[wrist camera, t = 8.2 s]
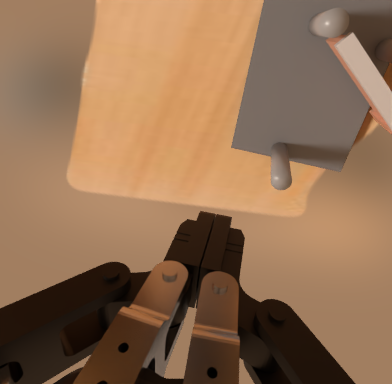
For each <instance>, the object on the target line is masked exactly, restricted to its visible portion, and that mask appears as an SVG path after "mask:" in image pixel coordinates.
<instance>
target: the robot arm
mask: <svg viewBox="0 0 392 384" xmlns="http://www.w3.org/2000/svg"><path fill="white" fill-rule="evenodd" d="M215 216H216V218H215ZM231 219H232V217H228V216H224V215H218V214H217V215H216V214H213V213H208V212H203V211H200V213H199V216H198V218H197V221H194V220H189V219H187V220H186V221H185V222H183V223H182V224H181V225H180V227H179V229H178V231H177V234H176V235H175V237H174V240H173V241H172V244H171V246H170V248H169V250H168V252H167V255H166V257H165V259H164V261H163V262H161V263H159V264H157V265H156V266H155V267H154V268H153V270H152V271H149V272H139V273H130V270H129V268H128V267H127V266H126V265H125V264H123V263H120V262H109V263H105V264H103V265H100V266H98V267H96V268H93V269H91V270H89V271H86V272H84V273H82V274H79V275H77V276H75V277H73V278H70V279H68V280H65V281H63V282H61V283H58V284H56V285H54V286H51V287H49V288H47V289H45V290H42V291H40V292H37V293H35V294H33V295H30V296H28V297H26V298H23V299H21V300H19V301H16V302H14V303H12V304H9V305H7V306H5V307H3V308H0V384H42V383H44V382H46V381H47V380H49V379H51V378H52V377H54V376H56V375H57V374H59V373H61V372H62V371H64V370H66V369H67V368H69V367H70V366H72V365H74V364H76V363H77V362H79V361H81V360H82V359H84V358H86V357H87V356H89V355H91V356H90V357H89V359H88V361H87V362H86V364H85V365H84V367H82V368H79V369H77V370H75V371H73V372H71V373H69V374H68V375H66V376H64V377H63V378H61V379H60V380H58V381H57V382H55V383H54V384H239V358H241V359H243V361H244V365H245V368H246V370H247V371H248V373H249V375H250V377H251V378H252V380H253V382H254V383H255V384H355V383H354V382H353V380H352V379H351V378H350V377H349V376H348V374H347V373H346V372H345V371H344V370H343V369H342V367H341V366H340V365H339V364H338V363H337V361H336V360H335V359H334V358H333V357H332V356H331V354H330V353H329V352H328V351H327V350H326V349H325V347H324V346H323V345H322V344H321V342H320V341H319V340H318V339H317V338H316V337H315V335H314V334H313V333H312V332H311V331H310V329H309V328H308V327H307V326H306V325H305V324H304V322H303V321H302V320H301V319H300V318H299V316H297V314H296V313H295V312H294V311H293V310H292V308H291V307H290V306H288V305H287V304H285V303H284V302H282V301H279V300H275V299H267V300H264V301H262V302H259V301H257V300H255V299H253V298H251V297H250V296H249V295H247V294H246V293H245V292H244V291H243V289H242V288H241V286H240V283H239V276H240V268H241V262H242V254H243V247H244V239H245V238H244V235H243V233H242V231H241V230H239V229H234V228H230V225H231ZM196 300H197V303H196ZM195 303H196V308H197V312H196V317H195V323H194V327H193V331H192V336H191V342H190V347H189V353H188V359H187V365H186V370H185V376H184V379H166V378H164V374H165V370H166V367H167V364H168V362H169V359H170V356H171V354H172V351H173V349H174V346H175V344H176V341H177V339H178V336H179V334H180V331H181V329H182V326H183V323H184V318H185V315H186V313H187V309H188V307H192V308H194V307H195Z"/></svg>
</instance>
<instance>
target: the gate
mask: <svg viewBox="0 0 392 384" xmlns="http://www.w3.org/2000/svg"><path fill="white" fill-rule="evenodd" d="M326 42H327V43H328V45H329V46H330V48H331V49H332V50H333V52H334V53H335V55H336V56H337V58H338V59H339V61H340V62H341V64H342V65H343V67H344V68H345V70H346V71H347V72H348V74H349V75H350V77H351V78H352V80H353V81H354V83H355V84H356V86H357V87H358V89H359V90H360V92H361V93H362V94H363V96H364V97H365V99H366V100H367V102H368V103H369V105H370V106H371V108H372V110H370V111H369V112H370V114H371V115H372V117H373V118H374V120H376V121H377V122H378V123H379V124H380V125H381V126H383V127H384V128H385V129H386V130H387V131H388V132H389V133H391V134H392V91H391V90H390V88H389V87H388V85H387V84H386V82H385V81H384V79H383V78H382V76H381V75H380V73H379V71H378V70H377V68H376V67H375V65H374V64H373V62H372V61H371V59H370V58H369V56H368V55H367V53H366V52H365V50H364V48H363V47H362V45H361V44H360V42H359V41H358V39H357V38H356V36H355V35H354V33H353V32H350V33H349V34H347V35H340V36H338V37H335V38H328V39H327V40H326Z"/></svg>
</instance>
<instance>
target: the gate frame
mask: <svg viewBox="0 0 392 384" xmlns="http://www.w3.org/2000/svg"><path fill="white" fill-rule="evenodd" d="M350 32H353V33H354V35H355V36H356V38H357V39H358V41H359V42H360V44H361V45H362V47H363V48H364V50H365V52H366V53H367V55H368V56H369V58H370V59H371V61H372V62H373V64H374V65H375V67H376V68H377V70H378V71H379V73H380V75H381V76H382V78H383V76H384V74H385V72H386V69H387V67H388V65H389V63H392V0H264V3H263V7H262V12H261V16H260V21H259V25H258V30H257V34H256V39H255V43H254V48H253V52H252V57H251V61H250V66H249V70H248V75H247V79H246V84H245V88H244V93H243V97H242V102H241V106H240V110H239V115H238V119H237V124H236V128H235V133H234V137H233V142H232V146H231V148H235V149H239V150H244V151H248V152H253V153H257V154H262V155H266V156H271V184H272V186H273V187H274V188H275V189H278V190H285V189H287V188H289V187H290V185H291V183H292V178H291V171H290V163H289V161H293V162H298V163H302V164H307V165H311V166H316V167H320V168H325V169H329V170H334V171H338V172H341V170H342V167H343V165H344V163H345V161H346V159H347V156H348V154H349V152H350V150H351V147H352V145H353V143H354V141H355V139H356V136H357V134H358V132H359V130H360V127H361V125H362V123H363V121H364V118H365V116H366V114H367V112H368V110H369V107H370V105H369V103H368V102H367V100H366V99H365V97H364V96H363V94H362V93H361V92H360V90H359V89H358V87H357V86H356V84H355V83H354V81H353V80H352V78H351V77H350V75H349V74H348V72H347V71H346V70H345V68H344V67H343V65H342V64H341V62H340V61H339V59H338V58H337V56H336V55H335V53H334V52H333V50H332V49H331V48H330V46H329V45H328V43H327V42H326V40H327V39H328V38H335V37H338V36H340V35H347V34H349V33H350Z"/></svg>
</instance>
